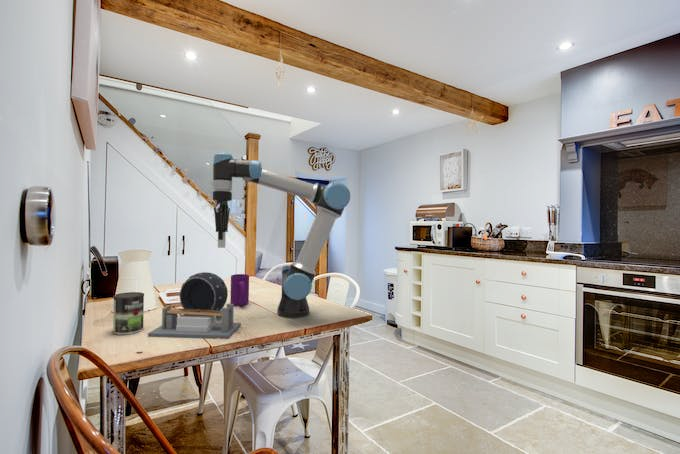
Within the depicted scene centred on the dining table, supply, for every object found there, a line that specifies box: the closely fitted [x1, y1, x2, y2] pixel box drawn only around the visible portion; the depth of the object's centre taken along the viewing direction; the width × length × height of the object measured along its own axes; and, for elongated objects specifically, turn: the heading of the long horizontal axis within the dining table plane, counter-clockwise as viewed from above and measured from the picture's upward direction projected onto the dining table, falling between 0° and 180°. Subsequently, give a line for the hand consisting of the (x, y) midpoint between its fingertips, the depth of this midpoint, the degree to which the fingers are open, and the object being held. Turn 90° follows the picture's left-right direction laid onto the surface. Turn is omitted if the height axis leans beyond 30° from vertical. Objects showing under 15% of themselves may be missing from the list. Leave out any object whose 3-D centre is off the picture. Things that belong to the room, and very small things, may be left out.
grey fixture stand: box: [147, 303, 242, 340], centre depth 138 cm, size 30×16×10 cm, turn 89°
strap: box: [167, 307, 232, 317], centre depth 138 cm, size 24×4×2 cm, turn 89°
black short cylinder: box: [179, 271, 229, 311], centre depth 157 cm, size 11×20×20 cm, turn 78°
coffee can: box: [112, 291, 145, 336], centre depth 137 cm, size 10×10×14 cm
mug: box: [229, 273, 250, 307], centre depth 179 cm, size 9×16×15 cm, turn 24°
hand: (221, 247), depth 147 cm, fingers closed
